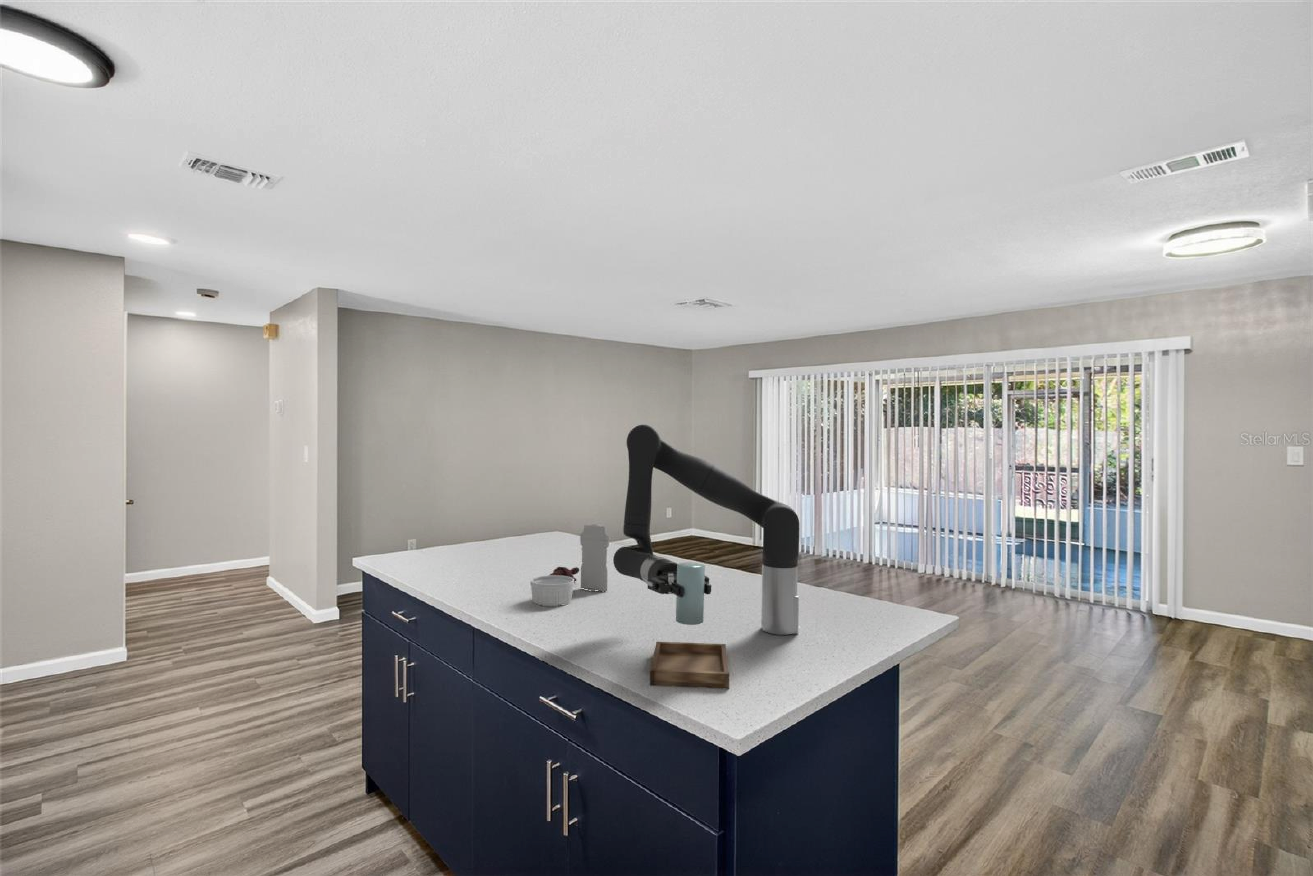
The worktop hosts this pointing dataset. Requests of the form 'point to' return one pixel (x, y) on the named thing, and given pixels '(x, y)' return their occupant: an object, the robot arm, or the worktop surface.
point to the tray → (690, 665)
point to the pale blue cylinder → (690, 593)
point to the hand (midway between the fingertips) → (695, 590)
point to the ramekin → (552, 590)
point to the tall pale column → (594, 557)
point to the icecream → (566, 572)
